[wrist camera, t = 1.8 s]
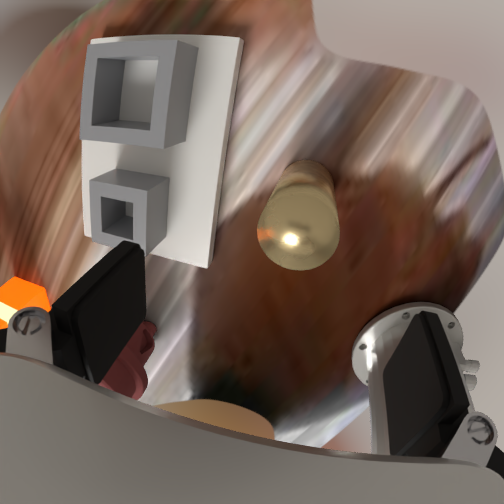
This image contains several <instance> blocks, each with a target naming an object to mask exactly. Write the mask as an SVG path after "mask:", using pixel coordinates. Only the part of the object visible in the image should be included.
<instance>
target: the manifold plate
mask: <svg viewBox="0 0 504 504" xmlns="http://www.w3.org/2000/svg"><path fill="white" fill-rule="evenodd" d="M243 45H244V40H242V39H241V38H240V37H228V36H213V35H185V34H163V35H135V36H120V37H109V38H99V39H91V44H90V45H88V47H87V54H86V62H85V70H84V79H83V90H82V102H81V118H80V140H82V199H83V218H84V233H85V236H88V237H92V242H96V243H99V244H103V245H106V246H110V247H113V248H115V247H116V246H117V245H118V244H119V243H120V242H122V241H123V240H126V241H130V242H134V243H138V244H139V245H140V247H141V249H143V250H144V253H145V257H146V256H147V255H148V254H149V253H150V254H154V255H157V256H161V257H165V258H169V259H172V260H176V261H180V262H184V263H188V264H191V265H195V266H199V267H203V268H208V267H209V265H210V264H211V262H212V259H213V250H214V242H215V234H216V225H217V217H218V210H219V202H220V194H221V187H222V179H223V172H224V165H225V158H226V151H227V144H228V137H229V131H230V124H231V117H232V111H233V105H234V98H235V92H236V86H237V80H238V74H239V68H240V62H241V57H242V51H243Z"/></svg>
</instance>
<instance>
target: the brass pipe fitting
mask: <svg viewBox="0 0 504 504" xmlns="http://www.w3.org/2000/svg"><path fill="white" fill-rule="evenodd" d="M257 234H258V240H259V243H260V245H261V247H262V249H263V251H264V252H265V254H266V255H267V256H268V257H269V258H270V259H271V260H272V261H274V262H275V263H276V264H278V265H280V266H282V267H285V268H288V269H292V270H308V269H312V268H315V267H317V266H320V265H321V264H323V263H324V262H326V261H327V260H328V259H329V258H330V257H331V256H332V254H333V253H334V252H335V250H336V248H337V245H338V242H339V235H340V232H339V222H338V214H337V206H336V199H335V191H334V184H333V179H332V177H331V174H330V173H329V171H328V170H327V169H326V168H325V167H324V166H323V165H322V164H320V163H318V162H316V161H312V160H300V161H296V162H294V163H292V164H291V165H289V166H288V167H287V168H286V169H285V170H284V172H283V174H282V176H281V178H280V179H279V181H278V183H277V185H276V187H275V189H274V191H273V193H272V195H271V197H270V199H269V201H268V203H267V204H266V206H265V208H264V210H263V212H262V214H261V216H260V219H259V222H258V228H257Z"/></svg>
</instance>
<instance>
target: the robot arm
mask: <svg viewBox="0 0 504 504" xmlns="http://www.w3.org/2000/svg"><path fill="white" fill-rule="evenodd" d="M145 315H146V293H145V253H144V250H143V249H141V247H140V245H139V244H138V243H134V242H130V241H126V240H123V241H122V242H120V243H119V244H118V245H117V246H116V247H115V248H114V249H112V250H111V251H110V252H109V253H108V254H107V255H105V256H104V257H103V258H102V259H101V260H100V261H99V262H98V263H96V264H95V265H94V266H93V267H92V268H91V269H90V270H89V271H88V272H86V273H85V274H84V275H83V276H82V277H81V278H80V279H79V280H78V281H77V282H76V283H75V284H73V285H72V286H71V287H70V288H69V289H68V290H67V291H66V292H65V293H64V294H63V295H62V296H61V297H60V298H59V299H58V300H57V301H56V302H55V303H53V304H52V309H51V310H50V311H49V312H47V311H46V310H45V309H43V308H41V307H36V306H30V307H26V308H22V309H20V310H18V311H17V312H16V313H14V314H13V315H12V317H11V318H10V320H9V323H8V328H3V329H0V504H504V453H503V452H502V451H501V450H500V449H499V448H498V447H496V446H495V444H496V441H497V437H498V436H497V430H496V427H495V424H494V423H493V421H492V420H491V419H490V418H489V417H488V416H487V415H485V414H483V413H481V412H475V410H474V406H473V403H472V400H471V396H470V393H469V391H472V390H473V389H474V388H475V386H476V383H477V378H476V376H475V375H469V374H463V371H466V372H473V373H476V372H477V371H478V370H479V367H480V363H479V361H476V360H465V358H464V357H463V354H462V352H461V348H462V345H463V332H462V328H461V326H460V324H459V321H458V319H457V318H456V317H455V315H454V314H453V313H452V312H451V311H450V310H448V309H447V308H445V307H443V306H441V305H439V304H434V303H430V302H413V303H406V304H403V305H399V306H396V307H393V308H391V309H389V310H387V311H384V312H383V313H381V314H380V315H378V316H376V317H375V318H374V319H372V320H371V321H370V322H369V323H368V324H367V325H366V326H365V327H364V328H363V329H362V331H361V332H360V333H359V335H358V336H357V338H356V340H355V342H354V346H353V349H352V364H353V369H354V371H355V374H356V375H357V377H358V378H359V379H360V380H361V381H362V382H363V383H364V384H365V385H367V386H368V387H369V403H370V423H371V454H367V453H356V452H347V451H338V450H330V449H323V448H317V447H310V446H304V445H298V444H292V443H287V442H282V441H277V440H272V439H267V438H262V437H257V436H253V435H249V434H245V433H241V432H236V431H232V430H229V429H225V428H221V427H217V426H213V425H210V424H207V423H203V422H200V421H197V420H193V419H190V418H187V417H183V416H180V415H177V414H174V413H171V412H168V411H165V410H162V409H159V408H157V407H154V406H151V405H148V404H145V403H143V402H140V401H137V400H135V399H132V398H130V397H127V396H125V395H122V394H120V393H117V392H115V391H112V390H110V389H107V388H105V387H102V386H100V385H98V384H100V382H101V381H102V380H103V378H104V377H105V375H106V374H107V372H108V371H109V369H110V368H111V366H112V365H113V363H114V362H115V360H116V359H117V357H118V356H119V355H120V353H121V352H122V350H123V349H124V347H125V346H126V344H127V343H128V342H129V340H130V339H131V337H132V336H133V334H134V333H135V332H136V330H137V329H138V327H139V326H140V324H141V323H142V322H143V320H144V318H145Z"/></svg>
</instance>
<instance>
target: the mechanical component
mask: <svg viewBox="0 0 504 504" xmlns="http://www.w3.org/2000/svg"><path fill="white" fill-rule="evenodd" d="M156 331H157V328H156V326H155V325H154V324H153V323H151V322H146V321H143V322H142V323H141V324H140V326H139V327H138V329H137V330H136V332H135V333H134V334H133V336H132V337H131V339H130V340H129V342H128V343H127V344H126V346H125V347H124V349H123V350H122V352H121V353H120V355H119V356H118V357H117V359H116V360H115V362H114V363H113V365H112V366H111V368H110V369H109V371H108V372H107V374H106V375H105V377H104V378H103V380H102V381H101V382H100V384H98V385H100V386H102V387H105V388H107V389H110V390H112V391H115V392H117V393H120V394H122V395H125V396H127V397H130V398H132V399H135V400H138V399H139V398H141V396H142V395H143V393H144V391H145V390H146V388H147V385H148V378H147V374H146V371H145V369H144V367H143V366H144V365H145V363H146V362H147V360H148V359H149V357H150V355H151V354H152V352H153V350H154V347H155V343H154V339H153V335H154V334H155V332H156Z"/></svg>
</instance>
